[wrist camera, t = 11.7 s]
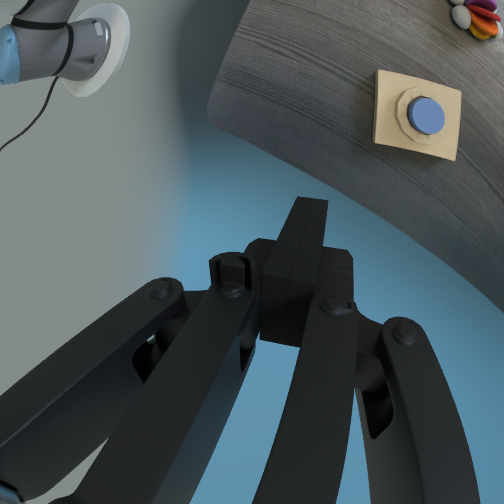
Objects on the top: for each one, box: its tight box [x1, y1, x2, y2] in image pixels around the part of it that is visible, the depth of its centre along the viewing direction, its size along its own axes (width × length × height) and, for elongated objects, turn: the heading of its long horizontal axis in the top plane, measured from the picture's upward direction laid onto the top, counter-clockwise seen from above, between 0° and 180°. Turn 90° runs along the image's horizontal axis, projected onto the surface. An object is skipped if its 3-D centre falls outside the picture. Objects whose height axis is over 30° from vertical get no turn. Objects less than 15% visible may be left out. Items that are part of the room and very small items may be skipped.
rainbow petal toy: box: [450, 0, 503, 41], centre depth 12 cm, size 8×10×7 cm
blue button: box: [408, 98, 445, 134], centre depth 24 cm, size 4×4×2 cm
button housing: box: [372, 70, 461, 161], centre depth 26 cm, size 12×10×4 cm
